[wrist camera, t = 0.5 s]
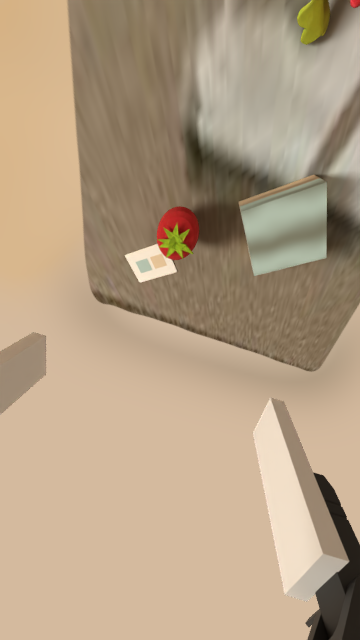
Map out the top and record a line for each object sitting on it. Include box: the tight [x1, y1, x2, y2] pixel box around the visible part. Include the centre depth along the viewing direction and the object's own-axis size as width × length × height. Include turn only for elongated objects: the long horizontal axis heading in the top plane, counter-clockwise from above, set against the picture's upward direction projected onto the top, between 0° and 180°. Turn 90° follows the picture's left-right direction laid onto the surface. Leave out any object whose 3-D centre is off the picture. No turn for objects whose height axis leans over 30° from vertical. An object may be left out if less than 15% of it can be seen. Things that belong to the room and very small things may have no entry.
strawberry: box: [157, 207, 199, 260], centre depth 33 cm, size 6×8×10 cm
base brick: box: [239, 175, 327, 276], centre depth 34 cm, size 10×10×5 cm
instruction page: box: [125, 244, 177, 282], centre depth 42 cm, size 6×8×1 cm
